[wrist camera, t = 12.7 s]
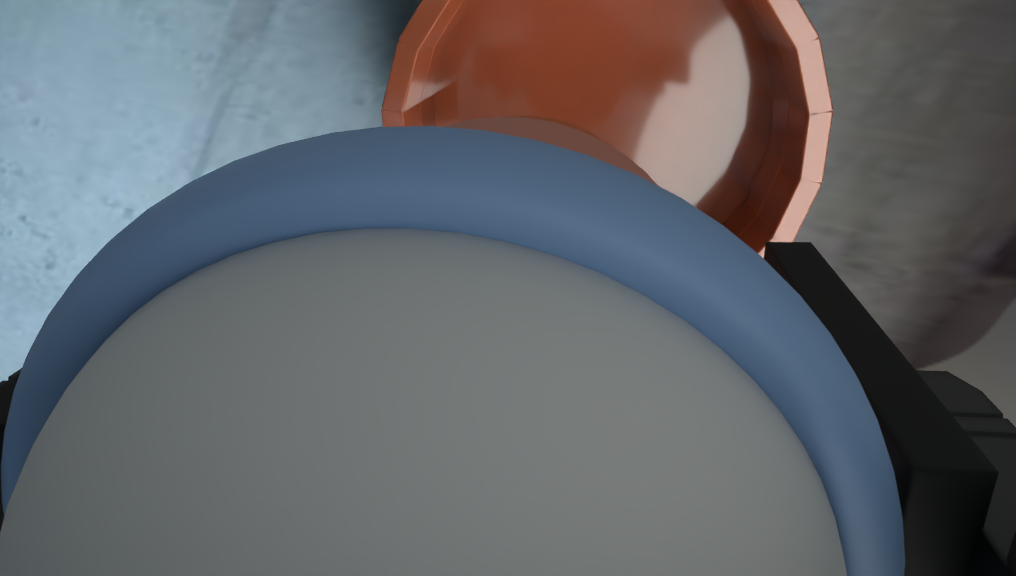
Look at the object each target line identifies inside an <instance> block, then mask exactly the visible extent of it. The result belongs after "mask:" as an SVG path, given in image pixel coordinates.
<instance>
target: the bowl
mask: <svg viewBox="0 0 1016 576" xmlns="http://www.w3.org/2000/svg"><path fill="white" fill-rule="evenodd" d="M398 40H399V41H398V42H397V45H396V49H395V53H394V58H393V62H392V66H391V71H390V75H389V79H388V83H387V88H386V92H385V96H384V100H383V105H382V108H383V109H382V123H383V127H406V126H438V127H444V126H447V125H451V124H455V123H459V122H463V121H467V120H471V119H480V118H489V117H507V116H524V115H528V116H540V117H547V118H552V119H557V120H560V121H564V122H567V123H570V124H573V125H575V126H578V127H580V128H583V129H585V130H587V131H589V132H591V133H592V134H594V135H596V136H598V137H599V138H601V139H602V140H604V141H605V142H607V143H608V144H609V145H611V146H612V147H613V148H615V149H617V150H618V151H620V152H621V153H623V154H625V155H626V156H627V157H628V158H630V159H631V160H632V161H633V162H634V163H636V164H637V165H638V166H639V167H640V168H642V169H643V170H644V171H645V172H646V173H647V174H648V175H649V176H650V177H651V178H652V179H653V180H654V181H655V183H656V184H657V185H658V186H659V187H661V188H663V189H665V190H667V191H669V192H671V193H673V194H675V195H677V196H679V197H681V198H682V199H684V200H685V201H687V202H688V203H690V204H691V205H693V206H694V207H696V208H697V209H699V210H700V211H702V212H704V213H705V214H707V215H708V216H710V217H711V218H713V219H714V220H716V221H717V222H719V223H720V224H722V225H723V226H725V227H726V228H727V229H728V230H729V231H731V232H732V233H733V234H734V235H736V236H737V237H738V238H739V239H741V240H742V241H743V242H744V243H746V244H747V245H748V246H749V247H750V248H752V249H753V250H754V251H755V252H757V253H758V254H759V255H760V256H761V257H762V258H763V259H764V252H765V243H766V242H793V241H794V239H795V237H796V235H797V233H798V231H799V229H800V227H801V225H802V223H803V221H804V219H805V217H806V215H807V213H808V211H809V209H810V207H811V205H812V203H813V201H814V199H815V197H816V195H817V193H818V191H819V189H820V187H821V185H822V183H821V182H823V176H824V170H825V163H826V156H827V149H828V143H829V136H830V129H831V122H832V116H833V111H832V110H833V106H832V101H831V95H830V90H829V85H828V79H827V74H826V68H825V63H824V57H823V52H822V47H821V41H820V38H819V35H818V33H817V31H816V30H815V28H814V26H813V25H812V23H811V21H810V19H809V18H808V16H807V14H806V13H805V11H804V9H803V7H802V6H801V4H800V2H799V1H798V0H421V2H420V4H419V5H418V7H417V9H416V10H415V12H414V14H413V15H412V17H411V19H410V20H409V22H408V23H407V25H406V27H405V28H404V30H403V32H402V33H401V35H400V37H399V38H398Z"/></svg>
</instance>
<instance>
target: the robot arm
mask: <svg viewBox="0 0 1016 576" xmlns="http://www.w3.org/2000/svg"><path fill="white" fill-rule="evenodd" d="M764 260H765V261H766V262H767V263H768V264H769V265H770V266H771V267H772V268H773V269H774V270H775V271H776V272H777V273H778V274H779V275H780V276H781V277H782V278H783V279H784V280H785V281H786V282H787V283H788V284H789V285H790V286H791V287H792V288H793V289H794V290H795V291H796V292H797V293H798V294H799V295H800V296H801V297H802V298H803V300H804V301H805V302H806V303H807V305H808V306H809V307H810V308H811V310H812V311H813V312H814V313H815V315H816V316H817V317H818V318H819V320H820V321H821V322H822V323H823V325H824V326H825V327H826V328H827V330H828V331H829V332H830V334H831V335H832V337H833V338H834V340H835V342H836V343H837V345H838V346H839V348H840V350H841V351H842V353H843V354H844V356H845V358H846V359H847V361H848V362H849V364H850V366H851V367H852V369H853V370H854V372H855V374H856V376H857V378H858V379H859V381H860V384H861V386H862V388H863V390H864V392H865V394H866V396H867V399H868V401H869V403H870V405H871V407H872V409H873V411H874V413H875V416H876V418H877V420H878V423H879V426H880V429H881V432H882V435H883V438H884V441H885V445H886V448H887V451H888V454H889V457H890V460H891V463H892V466H893V470H894V474H895V479H896V484H897V490H898V495H899V500H900V506H901V511H902V519H903V532H904V550H905V571H904V576H1016V428H1015V426H1014V425H1013V424H1012V423H1011V422H1010V421H1009V420H1008V419H1004V418H1003V414H1002V412H1001V411H1000V410H999V409H998V408H997V407H996V406H995V405H994V404H993V403H992V402H991V401H990V400H989V399H988V398H987V397H986V395H985V394H984V393H983V392H982V391H980V390H978V389H977V388H975V387H973V386H971V385H970V384H968V383H966V382H965V381H963V380H961V379H959V378H958V377H956V376H954V375H952V374H951V373H949V372H947V371H919V370H915V369H914V368H913V367H912V365H911V364H910V363H909V362H908V361H907V359H906V358H905V357H904V356H903V355H902V353H901V352H900V351H899V350H898V348H897V347H896V346H895V345H894V344H893V342H892V341H891V340H890V339H889V337H888V336H887V335H886V334H885V333H884V331H883V330H882V329H881V328H880V326H879V325H878V324H877V323H876V322H875V320H874V319H873V318H872V317H871V315H870V314H869V313H868V312H867V311H866V309H865V308H864V307H863V306H862V304H861V303H860V302H859V301H858V300H857V298H856V297H855V296H854V295H853V293H852V292H851V291H850V290H849V289H848V287H847V286H846V285H845V284H844V282H843V281H842V280H841V279H840V278H839V276H838V275H837V274H836V273H835V271H834V270H833V269H832V268H831V267H830V265H829V264H828V263H827V262H826V260H825V259H824V258H823V257H822V256H821V254H820V253H819V252H818V251H817V249H816V248H815V247H814V246H813V245H812V243H811V242H766V243H765V252H764ZM21 370H22V368H21V369H20V370H18V371H17V372H15V373H14V374H12V375H11V376H9V379H8V381H2V382H0V532H1V528H2V524H3V520H4V512H3V505H2V486H1V461H2V451H3V441H4V431H5V427H6V422H7V418H8V414H9V409H10V405H11V401H12V397H13V392H14V389H15V386H16V383H17V381H18V378H19V375H20V373H21Z"/></svg>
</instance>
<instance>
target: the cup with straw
mask: <svg viewBox="0 0 1016 576" xmlns="http://www.w3.org/2000/svg"><path fill="white" fill-rule="evenodd" d="M1 486H2V505H3V512H4V520H3V524H2V528H1V532H0V576H904V571H905V550H904V532H903V519H902V511H901V506H900V500H899V495H898V490H897V484H896V479H895V474H894V470H893V466H892V463H891V460H890V457H889V454H888V451H887V448H886V445H885V441H884V438H883V435H882V432H881V429H880V426H879V423H878V420H877V418H876V416H875V413H874V411H873V409H872V407H871V405H870V403H869V401H868V399H867V396H866V394H865V392H864V390H863V388H862V386H861V384H860V381H859V379H858V378H857V376H856V374H855V372H854V370H853V369H852V367H851V366H850V364H849V362H848V361H847V359H846V358H845V356H844V354H843V353H842V351H841V350H840V348H839V346H838V345H837V343H836V342H835V340H834V338H833V337H832V335H831V334H830V332H829V331H828V330H827V328H826V327H825V326H824V325H823V323H822V322H821V321H820V320H819V318H818V317H817V316H816V315H815V313H814V312H813V311H812V310H811V308H810V307H809V306H808V305H807V303H806V302H805V301H804V300H803V298H802V297H801V296H800V295H799V294H798V293H797V292H796V291H795V290H794V289H793V288H792V287H791V286H790V285H789V284H788V283H787V282H786V281H785V280H784V279H783V278H782V277H781V276H780V275H779V274H778V273H777V272H776V271H775V270H774V269H773V268H772V267H771V266H770V265H769V264H768V263H767V262H766V261H765V260H764V259H763V258H762V257H761V256H760V255H759V254H758V253H757V252H755V251H754V250H753V249H752V248H750V247H749V246H748V245H747V244H746V243H744V242H743V241H742V240H741V239H739V238H738V237H737V236H736V235H734V234H733V233H732V232H731V231H729V230H728V229H727V228H726V227H725V226H723V225H722V224H720V223H719V222H717V221H716V220H714V219H713V218H711V217H710V216H708V215H707V214H705V213H704V212H702V211H700V210H699V209H697V208H696V207H694V206H693V205H691V204H690V203H688V202H687V201H685V200H684V199H682V198H681V197H679V196H677V195H675V194H673V193H671V192H669V191H667V190H665V189H663V188H661V187H659V186H658V185H657V184H656V183H655V181H654V180H653V179H652V178H651V177H650V176H649V175H648V174H647V173H646V172H645V171H644V170H643V169H642V168H640V167H639V166H638V165H637V164H636V163H634V162H633V161H632V160H631V159H630V158H628V157H627V156H626V155H625V154H623V153H621V152H620V151H618V150H617V149H615V148H613V147H612V146H611V145H609V144H608V143H607V142H605V141H604V140H602V139H601V138H599V137H598V136H596V135H594V134H592V133H591V132H589V131H587V130H585V129H583V128H580V127H578V126H575V125H573V124H570V123H567V122H564V121H560V120H557V119H552V118H547V117H540V116H528V115H524V116H507V117H489V118H480V119H471V120H467V121H463V122H459V123H455V124H451V125H447V126H444V127H438V126H406V127H377V128H369V129H360V130H352V131H344V132H335V133H330V134H325V135H321V136H317V137H312V138H308V139H304V140H299V141H295V142H291V143H286V144H282V145H279V146H276V147H273V148H270V149H267V150H264V151H261V152H258V153H256V154H253V155H250V156H247V157H244V158H241V159H238V160H235V161H233V162H231V163H229V164H227V165H225V166H223V167H221V168H219V169H216V170H214V171H212V172H210V173H208V174H206V175H204V176H202V177H200V178H198V179H196V180H194V181H192V182H190V183H188V184H187V185H185V186H183V187H182V188H180V189H179V190H177V191H176V192H174V193H172V194H171V195H169V196H168V197H166V198H165V199H163V200H161V201H160V202H158V203H157V204H155V205H154V206H152V207H150V208H149V209H147V210H146V211H145V212H144V213H143V214H141V215H140V216H139V217H138V218H136V219H135V220H134V221H133V222H132V223H130V224H129V225H128V226H127V227H126V228H124V229H123V230H122V231H121V232H120V233H118V234H117V235H116V236H115V237H114V238H113V239H111V240H110V241H109V242H108V243H107V244H106V245H105V246H104V247H103V248H102V249H101V250H100V251H99V252H98V254H97V255H96V256H95V257H94V258H93V259H92V260H91V261H90V262H89V263H88V264H87V265H86V266H85V267H84V268H83V269H82V271H81V272H80V273H79V274H78V275H77V276H76V278H75V279H74V280H73V282H72V283H71V284H70V286H69V287H68V288H67V290H66V291H65V293H64V294H63V295H62V297H61V298H60V300H59V301H58V302H57V304H56V305H55V306H54V308H53V309H52V311H51V312H50V313H49V315H48V317H47V319H46V320H45V322H44V324H43V326H42V328H41V330H40V332H39V334H38V335H37V337H36V339H35V341H34V343H33V345H32V347H31V349H30V351H29V353H28V355H27V357H26V359H25V362H24V365H23V367H22V370H21V373H20V375H19V378H18V381H17V383H16V386H15V389H14V392H13V397H12V401H11V405H10V409H9V414H8V418H7V422H6V427H5V431H4V441H3V451H2V461H1Z"/></svg>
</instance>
